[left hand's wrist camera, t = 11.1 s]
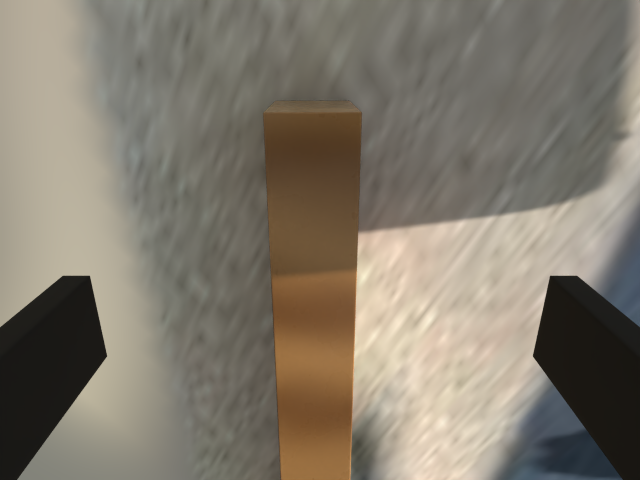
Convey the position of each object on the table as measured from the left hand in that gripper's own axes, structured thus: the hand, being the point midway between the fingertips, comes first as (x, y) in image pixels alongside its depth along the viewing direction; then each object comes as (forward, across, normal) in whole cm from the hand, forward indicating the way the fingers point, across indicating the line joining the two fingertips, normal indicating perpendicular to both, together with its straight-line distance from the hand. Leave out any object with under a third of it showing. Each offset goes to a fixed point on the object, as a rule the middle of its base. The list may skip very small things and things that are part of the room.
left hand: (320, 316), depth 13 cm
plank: (+18, 0, -24) cm, 30 cm away
